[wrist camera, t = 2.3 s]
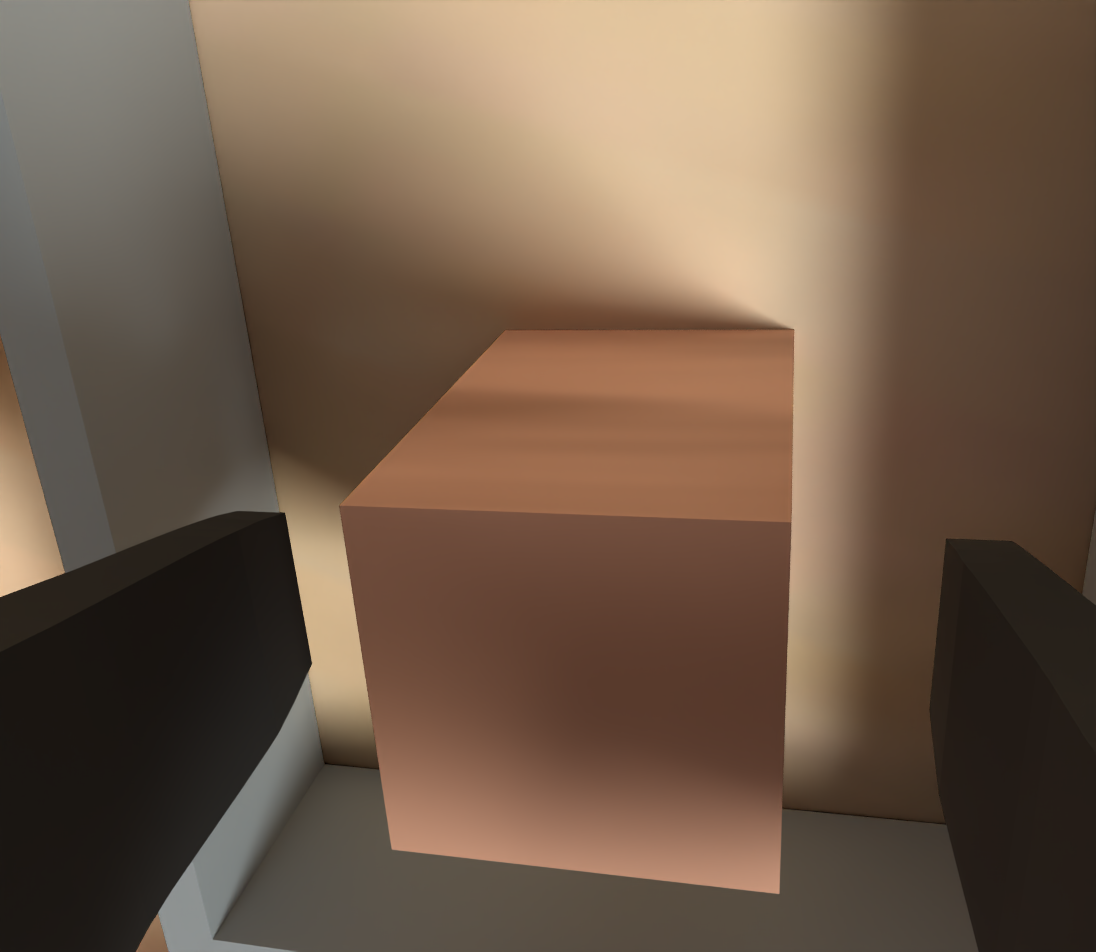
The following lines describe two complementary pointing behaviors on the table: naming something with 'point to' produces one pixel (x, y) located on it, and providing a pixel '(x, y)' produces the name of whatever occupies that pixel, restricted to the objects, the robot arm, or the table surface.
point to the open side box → (247, 485)
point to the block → (587, 606)
